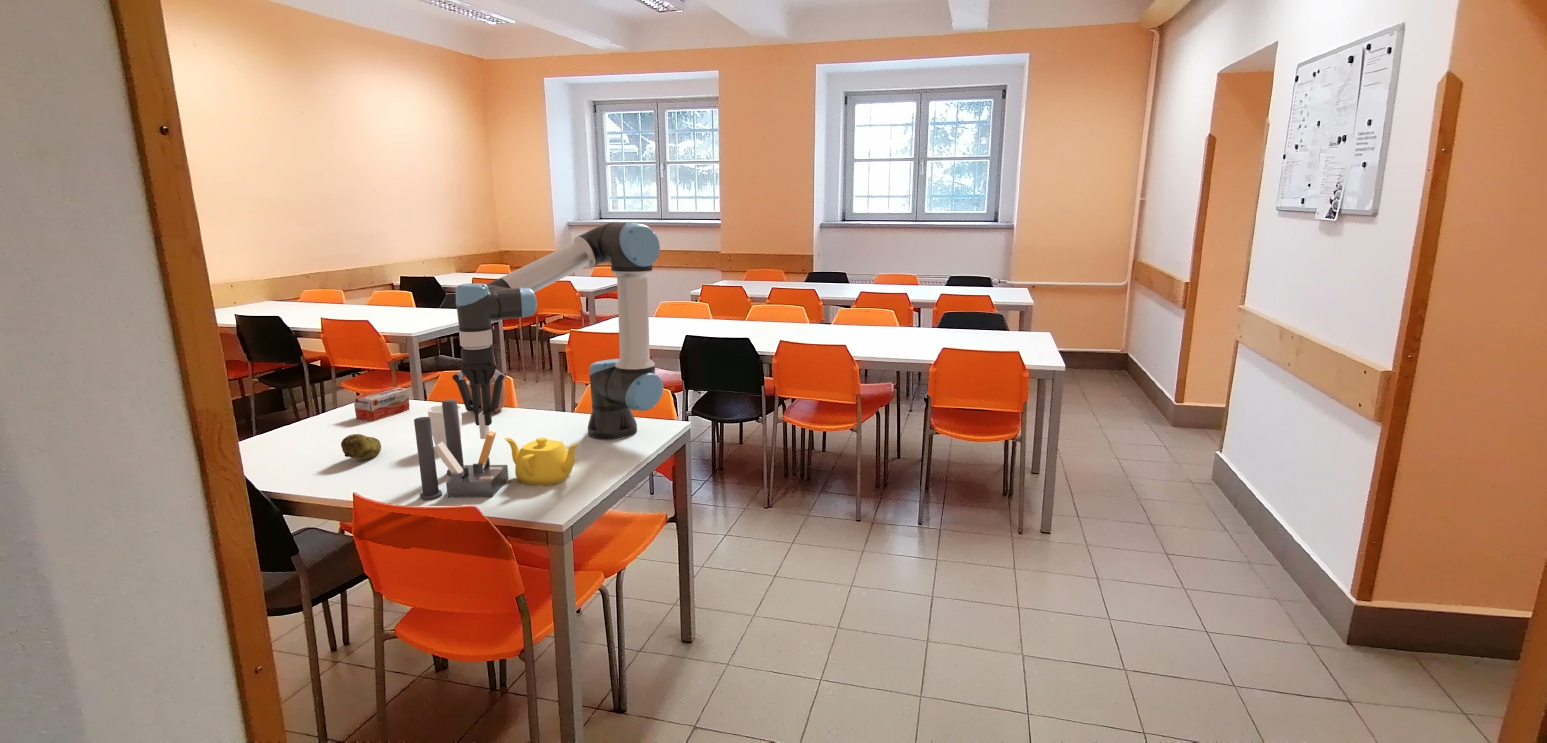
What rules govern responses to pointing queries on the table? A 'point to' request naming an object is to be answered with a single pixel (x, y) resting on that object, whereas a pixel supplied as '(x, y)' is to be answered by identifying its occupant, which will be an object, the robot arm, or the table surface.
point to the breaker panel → (477, 481)
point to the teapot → (542, 461)
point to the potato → (360, 446)
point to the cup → (440, 423)
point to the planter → (502, 395)
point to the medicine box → (381, 403)
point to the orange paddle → (486, 448)
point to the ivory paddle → (448, 459)
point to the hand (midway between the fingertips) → (485, 437)
